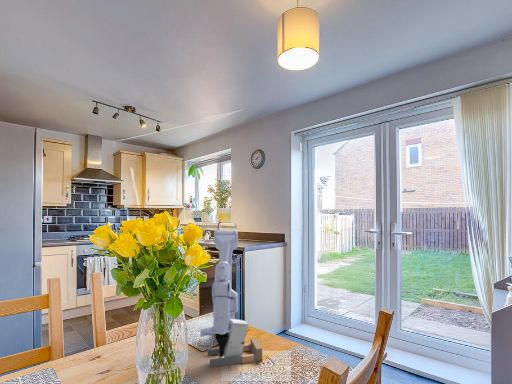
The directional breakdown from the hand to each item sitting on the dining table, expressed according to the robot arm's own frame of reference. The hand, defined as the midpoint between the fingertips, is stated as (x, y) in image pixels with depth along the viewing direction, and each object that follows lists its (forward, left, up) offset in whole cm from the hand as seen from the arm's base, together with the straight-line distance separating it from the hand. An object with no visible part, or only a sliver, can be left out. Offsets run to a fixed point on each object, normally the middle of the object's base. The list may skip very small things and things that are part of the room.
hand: (221, 355), depth 106 cm
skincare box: (0, +4, -1) cm, 4 cm away
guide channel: (0, +5, -1) cm, 5 cm away
